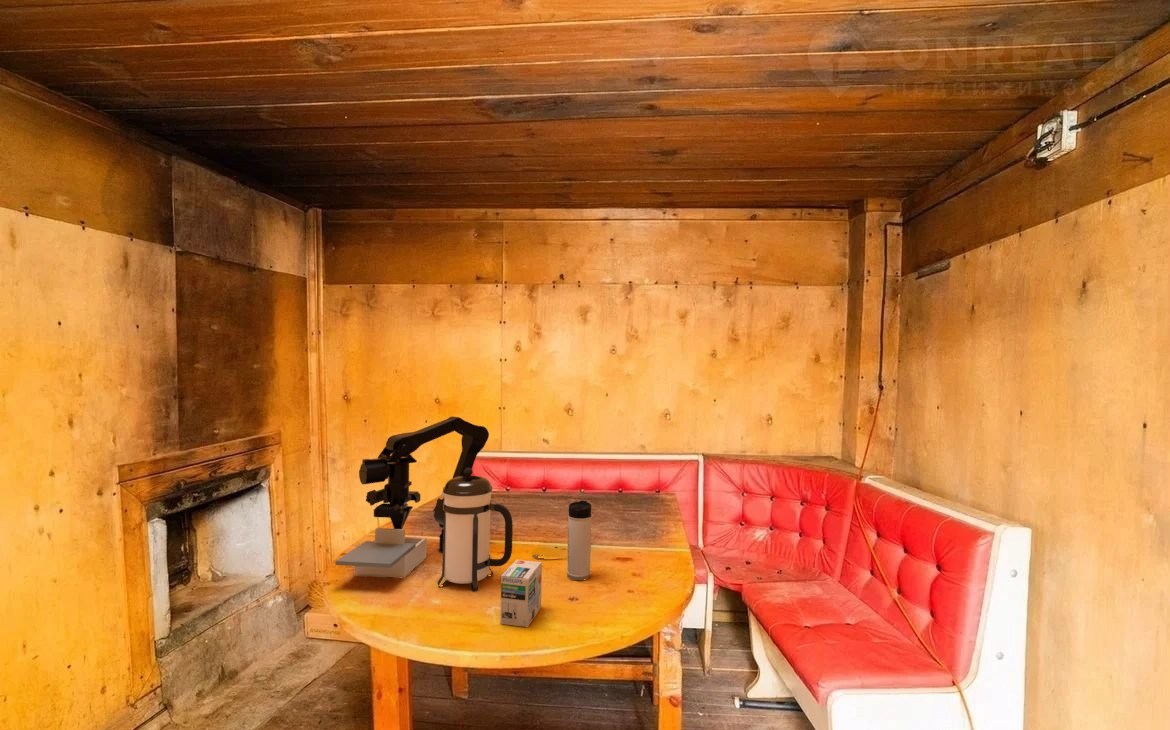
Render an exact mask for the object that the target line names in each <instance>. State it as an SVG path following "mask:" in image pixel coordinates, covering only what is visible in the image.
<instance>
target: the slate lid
mask: <svg viewBox="0 0 1170 730" xmlns="http://www.w3.org/2000/svg"><path fill="white" fill-rule="evenodd" d="M374 530H375V531H374V533H375V534H374V540H375V541H374V540H373V541H372V540H370V541H369V540H365V541H364V542H362V543H361V544H359V545H358V546H356V547H355V548H353V549H352V550H350V551H348V552H347V553H345V554H344V555H342V556H341V557H339V558H338V559H336V560H335V562H334V563H335V566H347V567H354V566H364V567H383V568H391V567H392V566H393V565H395V564H396V563H397V562H398V561H399V560H401V559H402V558H403V557H404V556H405V555H407V554H408V553H409V552H410V551H411V550H413V549H414V548H415V547H416V543H405V537H406V535H405V534H406V529H405V528H402V529H394V528H385V527H376V528H375V529H374Z"/></svg>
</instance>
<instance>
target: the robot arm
mask: <svg viewBox="0 0 1170 730" xmlns="http://www.w3.org/2000/svg"><path fill="white" fill-rule="evenodd" d="M453 432H456V433H457V434H459V435H461V436H462V437H461V452H460V454H459V455H460V456H459V458H458V462H457V464H456V466H455V470H454V472H453V476H452V478H455V477H459V476H466V475H465V474H464V470H465V469H466V468H471V469H472V470H473V466H474V464H475V461H476V458H477V456H478V454H479V453H480V452H481V451H482V450H483V449H484V447H485V445H486V444H487V442H488V439H489V436H490V433H489V430H488V429H487V427H485V426H484V425H477V424H473V423H471V422H469V421H466V420H464V419H463V418H461V417H459V416H453V415H452V416H449V417H447V418H446V419H444V420H440V421H437V422H436V423H433V424H431V425H428V426H425V427H423V428H421V429H418V430H416V431H411V432H402V433H398V434H397V433H396V434H393V435H391V436H389V437H388V438H387V440H386V442H385V446H384V448H383V449H382V450H381V452H380V453H379V454H378V456H377V458H370V459H369V458H363V459H362V460H361V462H362V463H361V465H360V468H359V470H358V474H359V475H358V476H359V477H358V478H359V482H360V483H361V484H362V485H370V484H377V483H382V482H383V483H384V482H385V481H387V483H385V484H384V487H383V488H381V489H378V490H375V489H372V490H369V491H368V492H366V496H365V502H367V503H368V504H369V505H370V506H374V505H375V504H378V503H381V502H382V503H381V504H379V505H377V506H375V508H374V509H373V517H374V518H386V519H387V518H388V519H389V518H390V521H391V524H392V526H393V529H404V526H405V524H406V521H407V520H408V517H409V515H410V513H411V511H412V510H413V507H414V506H412V505H411V506H410V505H409V504H408V502H409V503H410V501H411V502H412V501H414V503H416V504H417V503H419V502H420V501H421V493H420V492H419V490H418V491H415V490H414V491H411V490H410V487H411V486H412V485H413V484H412V480H410V464H413V463H417V461H418V460H417V459H415V458H414V456H412V453H414V452H415V451H417V450H418V449H419V448H420V447H421V446H422V445H425V444H426V443H429V442H433V441H434V440H435V439H439V438H441V437H443V436H445V435H448V434H451V433H453ZM443 502H444V497H443V498H437V501H436V503H435V507H434V509H433V510H432V512H434V513H433V518H434V520H435V522H436V523H437V524H438V525H439V526H438V527H439V528H440V529H441V530H440V531H441V533H440V534H439V548H440V549H439V550H438V552H439V553H443V515H444V510H443Z"/></svg>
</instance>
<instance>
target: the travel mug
mask: <svg viewBox="0 0 1170 730" xmlns="http://www.w3.org/2000/svg"><path fill="white" fill-rule="evenodd" d="M567 521H568V522H567V523H568V526H567V567H566V568H567V571H566V572H567V573H566V574H567V576H566V577H567V578H568V577H569V578H570V580H571V579H573V580H572V581H575V580H584V579H587V578H589V577H591V555H592V554H591V552H592V551H591V550H592V549H591V545H592V537H591V536H592V504H591V503H590V502H588V500H581V499H580V500H579V501H574V502H572V503H569V505H568V520H567ZM569 578H568V579H569ZM589 579H590V578H589ZM587 580H588V579H587ZM584 581H585V580H584Z"/></svg>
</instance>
